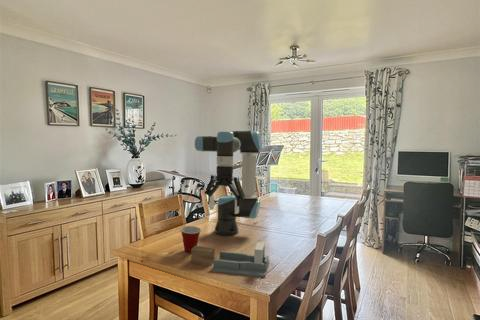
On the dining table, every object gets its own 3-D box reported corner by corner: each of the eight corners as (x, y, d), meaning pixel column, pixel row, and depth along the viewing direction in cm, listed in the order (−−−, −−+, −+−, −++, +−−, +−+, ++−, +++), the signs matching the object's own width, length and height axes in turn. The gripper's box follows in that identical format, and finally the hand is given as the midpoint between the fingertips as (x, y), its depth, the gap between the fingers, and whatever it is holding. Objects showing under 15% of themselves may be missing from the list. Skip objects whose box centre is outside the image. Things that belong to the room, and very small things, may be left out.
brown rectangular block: (194, 259, 142) (195, 245, 141) (214, 261, 140) (214, 247, 139) (191, 263, 137) (191, 249, 137) (211, 266, 135) (211, 251, 134)
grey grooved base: (221, 257, 145) (221, 236, 144) (269, 262, 140) (269, 241, 139) (211, 271, 129) (212, 248, 128) (265, 277, 124) (265, 253, 123)
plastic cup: (195, 256, 146) (195, 232, 145) (176, 253, 149) (176, 230, 148) (204, 248, 156) (204, 227, 155) (186, 246, 159) (186, 224, 158)
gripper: (197, 164, 135) (197, 209, 136) (245, 167, 123) (244, 216, 124) (207, 163, 142) (206, 206, 143) (252, 166, 130) (251, 213, 131)
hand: (223, 211), depth 133 cm, fingers open, 13 cm apart
